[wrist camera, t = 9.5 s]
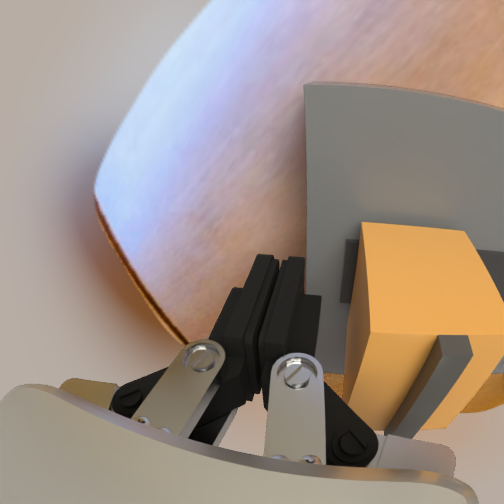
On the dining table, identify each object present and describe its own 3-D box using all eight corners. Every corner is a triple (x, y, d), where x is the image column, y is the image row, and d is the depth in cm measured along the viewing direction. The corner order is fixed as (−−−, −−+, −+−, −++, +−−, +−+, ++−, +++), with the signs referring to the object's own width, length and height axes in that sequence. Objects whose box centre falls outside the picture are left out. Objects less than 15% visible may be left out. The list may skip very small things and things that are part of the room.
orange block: (464, 230, 9) (524, 352, 4) (431, 329, 12) (446, 442, 7) (361, 221, 10) (371, 354, 5) (346, 325, 13) (336, 443, 8)
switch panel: (587, 141, 8) (637, 173, 4) (529, 317, 15) (549, 369, 11) (313, 81, 12) (302, 85, 8) (311, 309, 20) (300, 373, 16)
